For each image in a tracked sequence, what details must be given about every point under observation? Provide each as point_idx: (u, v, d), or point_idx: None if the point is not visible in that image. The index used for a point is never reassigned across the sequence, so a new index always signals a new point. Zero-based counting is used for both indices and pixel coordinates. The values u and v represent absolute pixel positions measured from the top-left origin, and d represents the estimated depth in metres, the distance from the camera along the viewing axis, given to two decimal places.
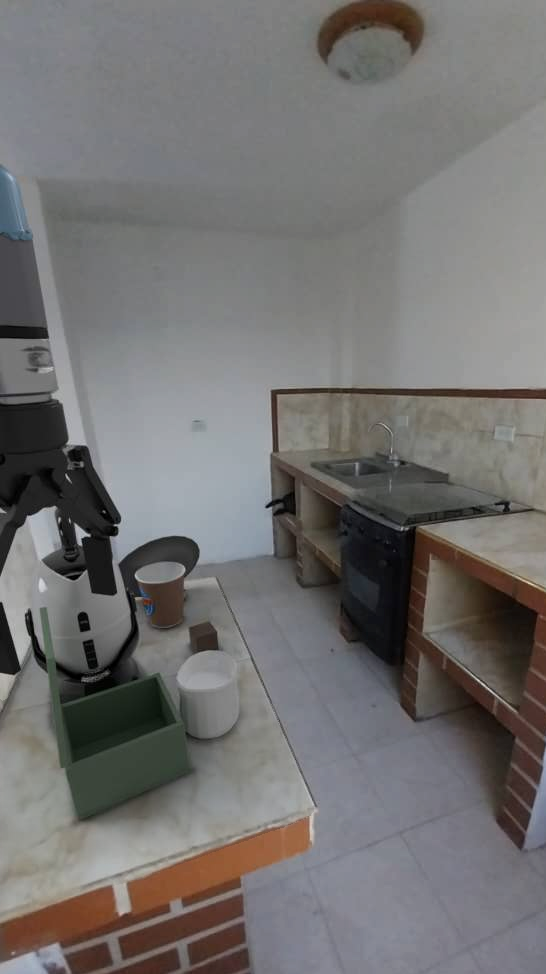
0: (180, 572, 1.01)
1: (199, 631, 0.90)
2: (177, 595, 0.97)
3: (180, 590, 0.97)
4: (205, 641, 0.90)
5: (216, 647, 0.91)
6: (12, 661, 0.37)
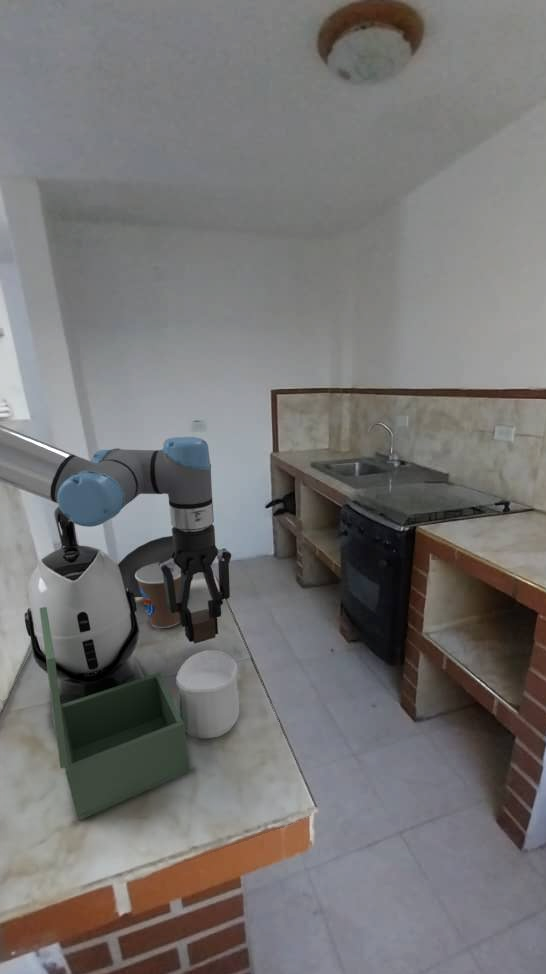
0: (180, 572, 1.01)
1: (196, 618, 0.89)
2: (177, 595, 0.97)
3: None
4: (202, 628, 0.89)
5: (213, 635, 0.91)
6: (190, 636, 0.89)
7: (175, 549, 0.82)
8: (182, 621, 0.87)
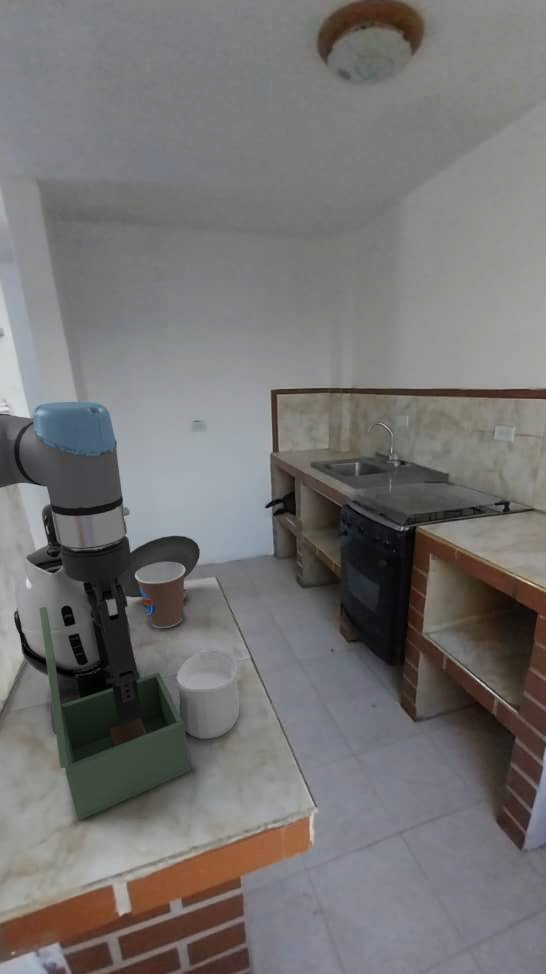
0: (180, 572, 1.01)
1: (133, 735, 0.65)
2: (177, 595, 0.97)
3: (180, 590, 0.97)
4: None
5: None
6: None
7: (111, 578, 0.53)
8: None
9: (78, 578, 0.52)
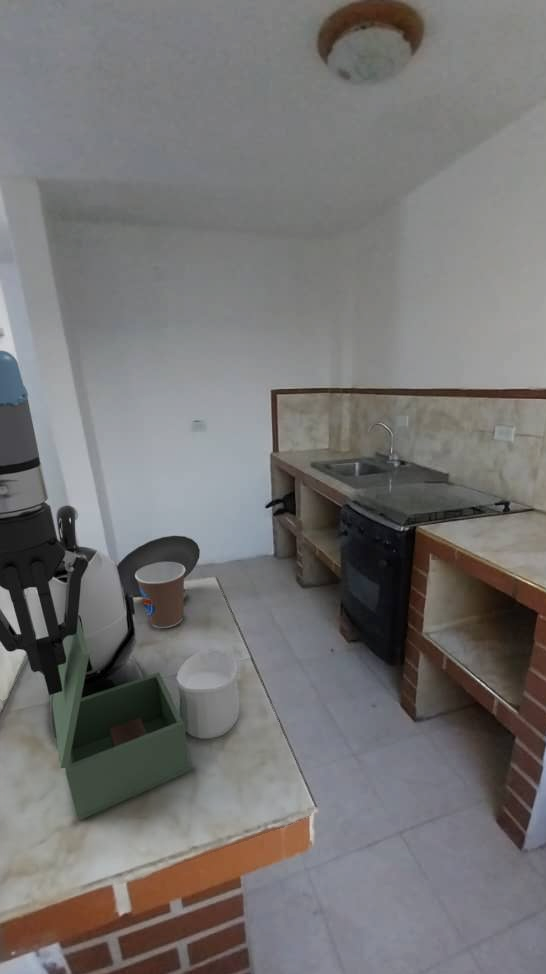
0: (180, 572, 1.01)
1: (133, 735, 0.65)
2: (177, 595, 0.97)
3: (180, 590, 0.97)
4: None
5: None
6: (48, 686, 0.56)
7: None
8: (32, 663, 0.54)
9: None
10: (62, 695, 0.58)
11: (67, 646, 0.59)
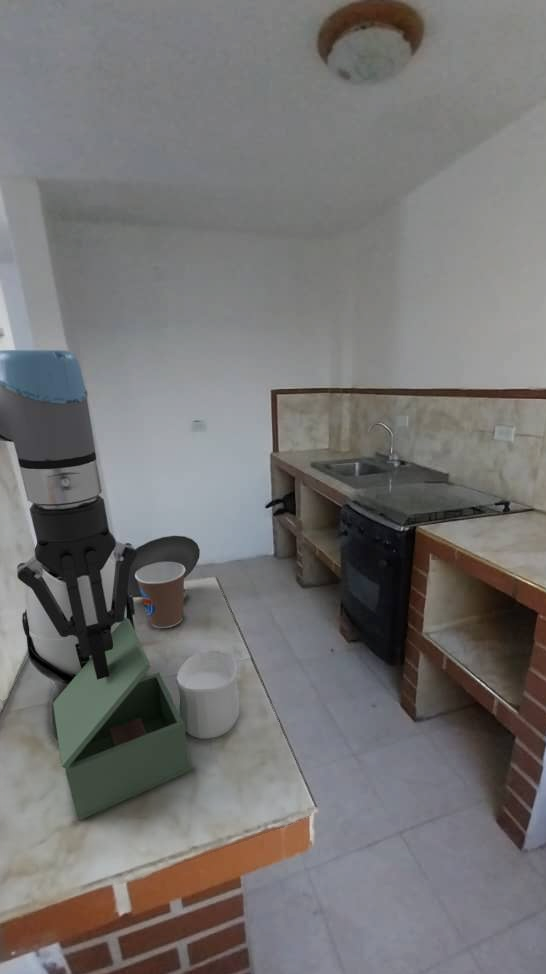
0: (180, 572, 1.01)
1: (133, 735, 0.65)
2: (177, 595, 0.97)
3: (180, 590, 0.97)
4: None
5: None
6: (97, 671, 0.58)
7: (37, 538, 0.50)
8: (82, 648, 0.57)
9: None
10: (85, 696, 0.60)
11: (110, 653, 0.63)
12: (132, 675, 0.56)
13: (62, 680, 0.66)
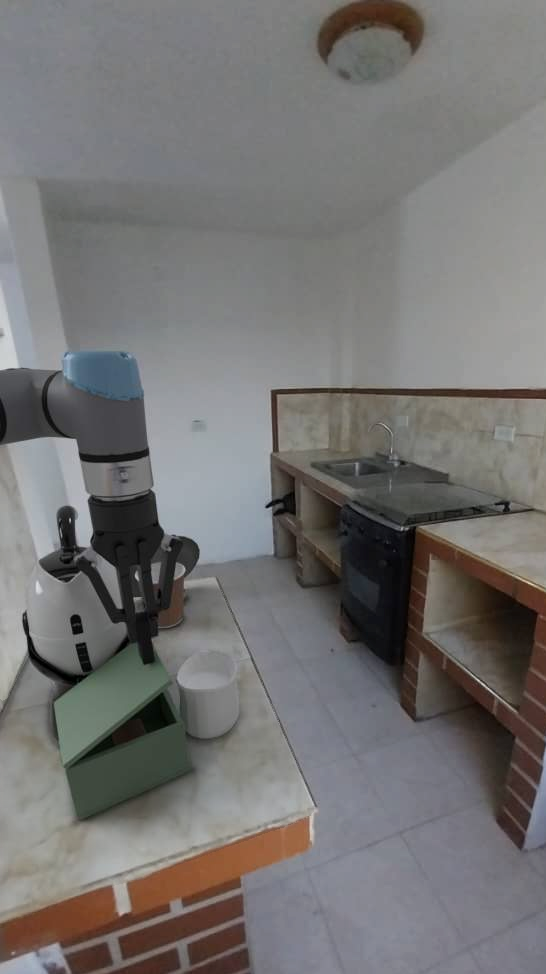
0: (180, 572, 1.01)
1: (133, 735, 0.65)
2: (177, 595, 0.97)
3: (180, 590, 0.97)
4: None
5: None
6: (144, 657, 0.61)
7: (94, 528, 0.53)
8: (131, 635, 0.60)
9: None
10: (94, 701, 0.61)
11: (127, 663, 0.64)
12: (152, 688, 0.59)
13: (62, 680, 0.66)
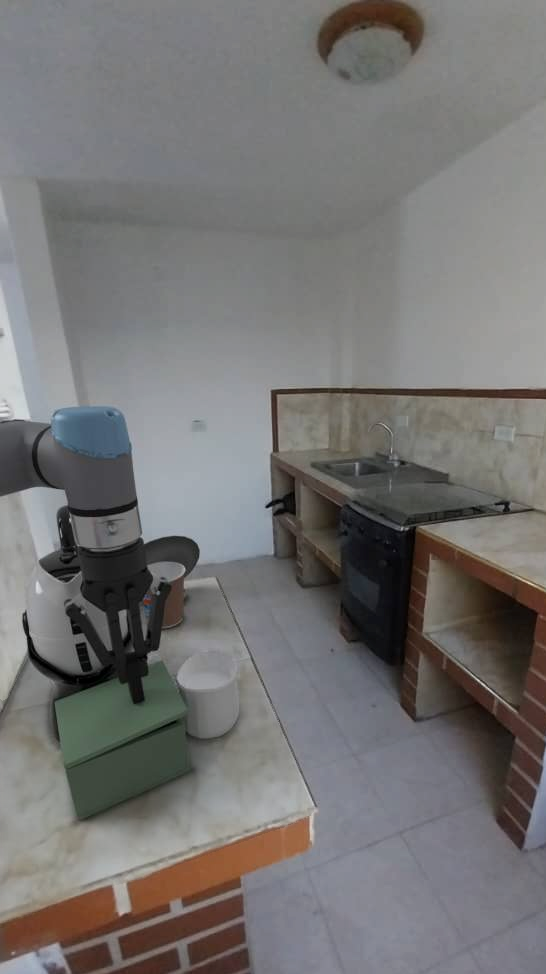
0: (180, 572, 1.01)
1: None
2: (177, 595, 0.97)
3: (180, 590, 0.97)
4: None
5: None
6: (134, 696, 0.62)
7: (83, 577, 0.54)
8: (121, 676, 0.61)
9: None
10: (103, 711, 0.62)
11: None
12: (169, 713, 0.61)
13: (62, 680, 0.66)
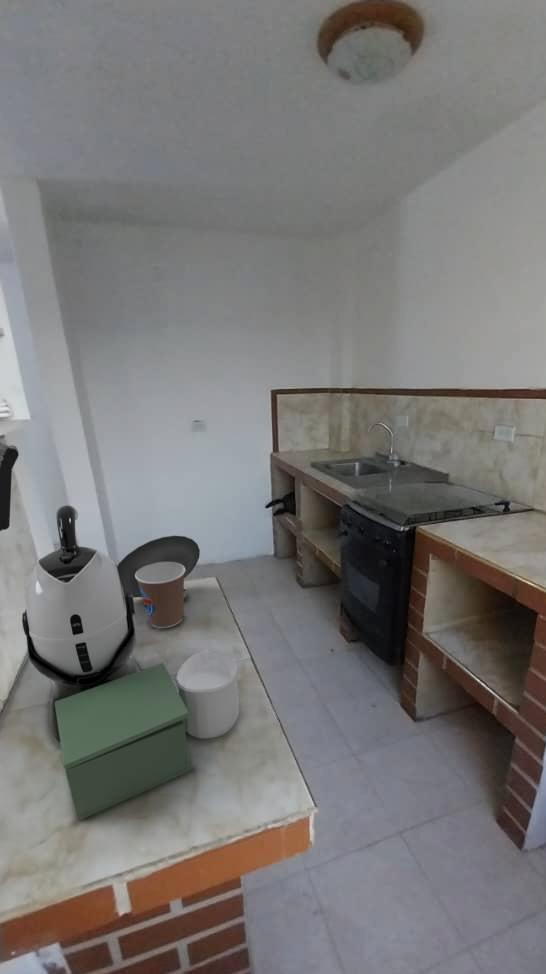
0: (180, 572, 1.01)
1: None
2: (177, 595, 0.97)
3: (180, 590, 0.97)
4: None
5: None
6: None
7: None
8: None
9: None
10: (103, 712, 0.62)
11: (141, 686, 0.67)
12: (169, 715, 0.61)
13: (62, 680, 0.66)
